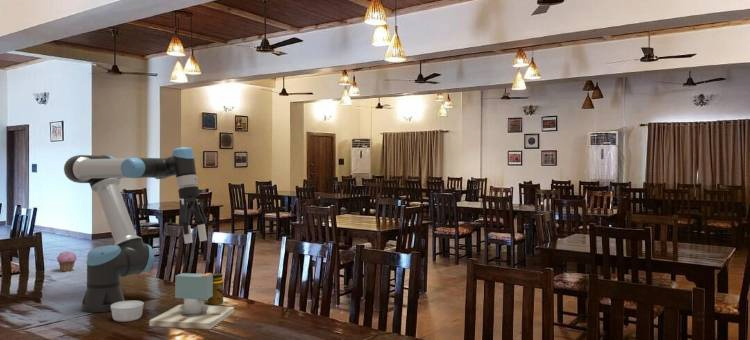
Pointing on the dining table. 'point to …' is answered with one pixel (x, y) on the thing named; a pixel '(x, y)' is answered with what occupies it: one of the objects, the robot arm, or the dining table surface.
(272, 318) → the dining table surface
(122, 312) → the ramekin
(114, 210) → the robot arm
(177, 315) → the post base
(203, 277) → the teal block on base
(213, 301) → the condiment
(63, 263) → the cupcake
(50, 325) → the dining table surface
